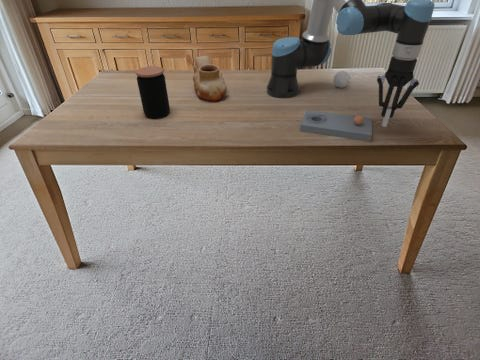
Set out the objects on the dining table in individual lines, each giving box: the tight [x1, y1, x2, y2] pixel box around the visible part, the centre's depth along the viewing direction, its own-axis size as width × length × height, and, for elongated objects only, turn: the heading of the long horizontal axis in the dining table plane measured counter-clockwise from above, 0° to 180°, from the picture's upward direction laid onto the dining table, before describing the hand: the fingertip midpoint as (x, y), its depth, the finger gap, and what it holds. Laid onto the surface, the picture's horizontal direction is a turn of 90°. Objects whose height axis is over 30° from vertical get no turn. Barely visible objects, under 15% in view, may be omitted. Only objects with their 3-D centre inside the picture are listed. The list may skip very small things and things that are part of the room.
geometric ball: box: [333, 70, 351, 89], centre depth 149 cm, size 8×8×8 cm
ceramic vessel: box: [192, 55, 228, 103], centre depth 143 cm, size 14×26×15 cm, turn 19°
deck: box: [299, 109, 373, 142], centre depth 116 cm, size 25×14×2 cm, turn 71°
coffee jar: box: [134, 65, 171, 120], centre depth 123 cm, size 11×11×18 cm
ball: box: [354, 115, 364, 125], centre depth 113 cm, size 3×3×3 cm
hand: (384, 124), depth 110 cm, fingers closed
